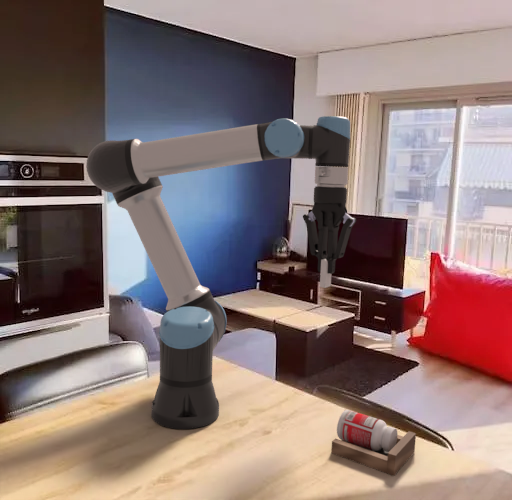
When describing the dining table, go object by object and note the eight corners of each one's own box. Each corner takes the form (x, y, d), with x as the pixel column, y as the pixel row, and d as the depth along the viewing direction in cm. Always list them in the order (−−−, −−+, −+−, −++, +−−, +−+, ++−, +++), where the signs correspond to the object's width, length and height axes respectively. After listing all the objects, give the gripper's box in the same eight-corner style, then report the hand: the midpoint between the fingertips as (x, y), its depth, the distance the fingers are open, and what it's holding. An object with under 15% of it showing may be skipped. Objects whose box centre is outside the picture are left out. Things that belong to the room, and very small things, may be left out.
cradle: (331, 453, 108) (332, 434, 108) (355, 432, 117) (356, 414, 117) (394, 475, 101) (395, 455, 100) (414, 452, 110) (416, 433, 109)
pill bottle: (342, 442, 115) (392, 460, 108) (332, 433, 110) (384, 451, 104) (351, 414, 117) (401, 430, 111) (343, 404, 113) (394, 420, 106)
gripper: (297, 184, 126) (293, 284, 129) (349, 187, 118) (343, 293, 122) (313, 184, 132) (309, 280, 135) (363, 187, 124) (357, 288, 128)
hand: (325, 286), depth 129 cm, fingers closed
